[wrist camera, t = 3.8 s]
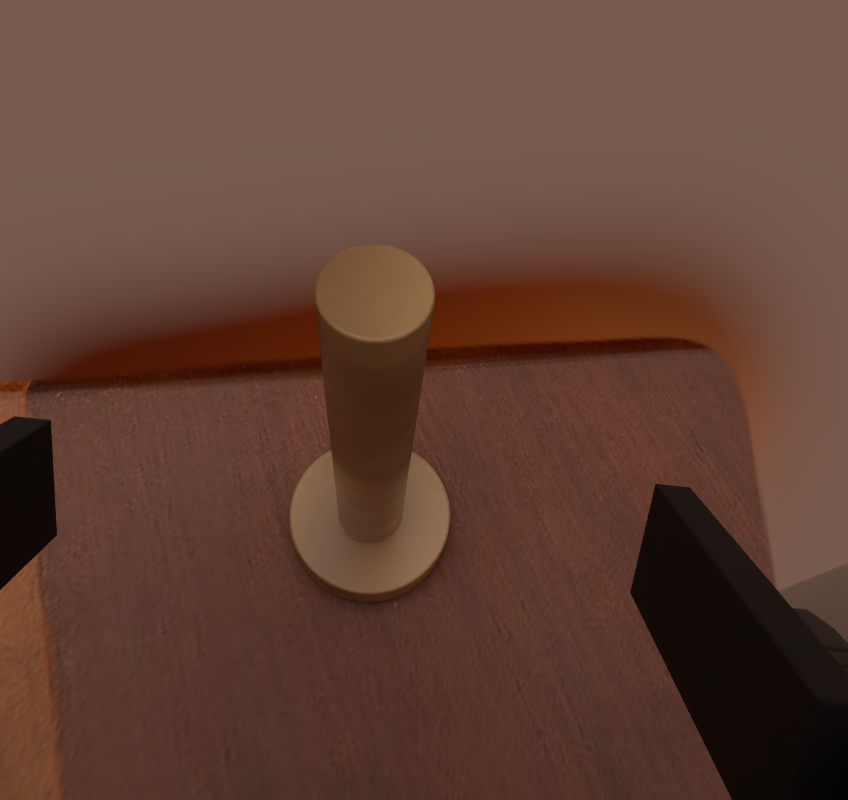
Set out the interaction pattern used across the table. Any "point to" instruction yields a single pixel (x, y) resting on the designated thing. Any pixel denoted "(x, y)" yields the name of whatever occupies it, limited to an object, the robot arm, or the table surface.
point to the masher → (371, 432)
